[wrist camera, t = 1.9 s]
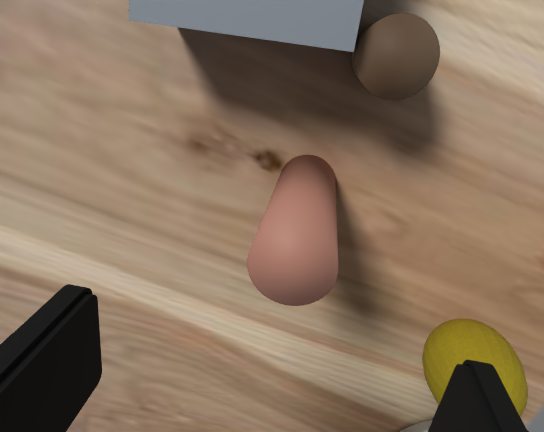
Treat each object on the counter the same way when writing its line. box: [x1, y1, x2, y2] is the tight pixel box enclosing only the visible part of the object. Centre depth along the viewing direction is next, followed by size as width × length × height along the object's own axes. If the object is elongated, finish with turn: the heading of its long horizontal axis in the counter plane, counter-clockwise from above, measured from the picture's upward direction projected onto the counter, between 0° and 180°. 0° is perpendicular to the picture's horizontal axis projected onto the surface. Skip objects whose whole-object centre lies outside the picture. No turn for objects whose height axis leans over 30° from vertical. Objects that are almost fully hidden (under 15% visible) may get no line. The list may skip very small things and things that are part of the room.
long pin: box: [247, 155, 338, 306], centre depth 21 cm, size 4×4×11 cm
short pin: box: [351, 13, 440, 100], centre depth 20 cm, size 4×4×5 cm
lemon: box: [423, 319, 528, 416], centre depth 25 cm, size 6×6×8 cm
